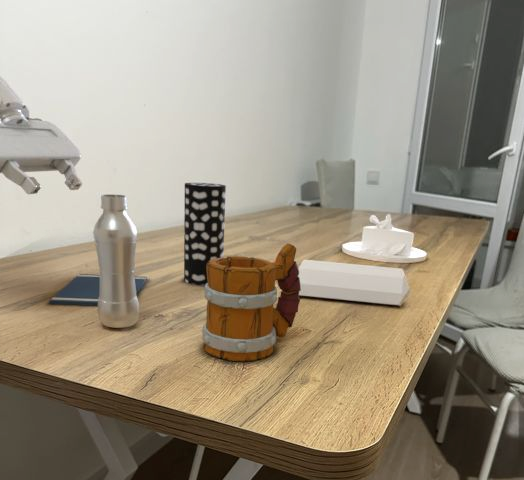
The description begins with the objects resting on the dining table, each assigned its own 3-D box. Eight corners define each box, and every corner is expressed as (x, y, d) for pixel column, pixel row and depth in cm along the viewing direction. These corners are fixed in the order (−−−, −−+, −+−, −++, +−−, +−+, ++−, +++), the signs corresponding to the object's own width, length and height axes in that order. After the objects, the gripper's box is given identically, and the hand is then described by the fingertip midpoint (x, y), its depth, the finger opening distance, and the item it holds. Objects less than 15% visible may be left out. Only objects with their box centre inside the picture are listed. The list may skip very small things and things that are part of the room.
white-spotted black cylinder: (229, 283, 112) (233, 186, 104) (195, 287, 107) (197, 186, 100) (210, 274, 118) (212, 182, 110) (177, 278, 113) (177, 182, 106)
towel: (49, 304, 91) (49, 300, 91) (79, 276, 109) (79, 273, 109) (130, 307, 92) (130, 303, 92) (146, 279, 110) (146, 276, 110)
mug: (186, 342, 77) (187, 242, 72) (274, 327, 86) (281, 236, 81) (223, 368, 69) (227, 257, 64) (316, 348, 78) (327, 249, 73)
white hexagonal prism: (408, 279, 108) (294, 268, 111) (414, 268, 101) (292, 257, 104) (405, 313, 107) (290, 301, 110) (411, 305, 100) (288, 292, 103)
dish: (325, 249, 156) (329, 211, 151) (374, 243, 172) (379, 208, 167) (393, 266, 139) (400, 223, 135) (441, 257, 155) (449, 219, 151)
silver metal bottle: (95, 332, 79) (87, 197, 72) (101, 318, 85) (94, 192, 78) (138, 332, 80) (134, 199, 73) (141, 318, 86) (137, 194, 79)
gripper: (35, 134, 88) (88, 198, 89) (-72, 129, 70) (-5, 209, 71) (54, 105, 85) (109, 172, 86) (-53, 93, 67) (18, 177, 68)
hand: (57, 189), depth 78 cm, fingers open, 8 cm apart
